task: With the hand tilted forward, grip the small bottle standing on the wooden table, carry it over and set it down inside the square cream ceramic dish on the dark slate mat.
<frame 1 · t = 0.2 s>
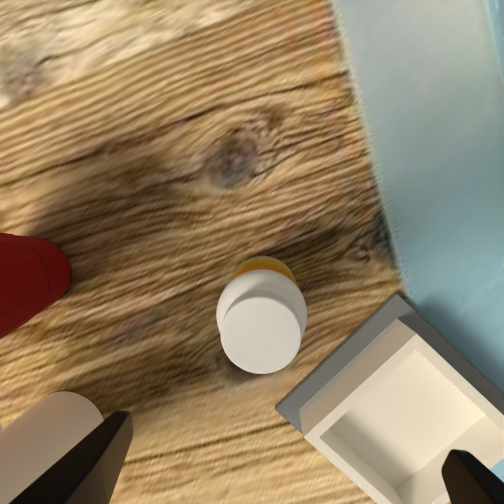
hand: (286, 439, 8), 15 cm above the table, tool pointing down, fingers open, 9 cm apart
cylindrical container: (69, 425, 26), on the table
plastic cup: (41, 268, 24), on the table
dish: (394, 409, 23), resting on mat
mat: (391, 405, 24), on the table
supplement bottle: (263, 286, 23), on the table
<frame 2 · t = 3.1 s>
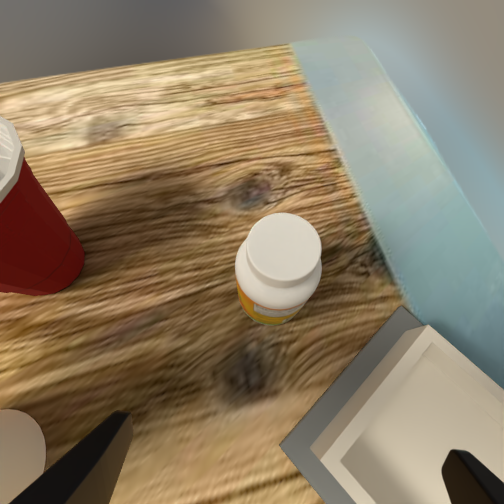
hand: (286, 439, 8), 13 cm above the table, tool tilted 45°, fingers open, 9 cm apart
plastic cup: (53, 262, 25), on the table
dish: (427, 452, 19), resting on mat
mat: (423, 450, 19), on the table
supplement bottle: (270, 294, 24), on the table
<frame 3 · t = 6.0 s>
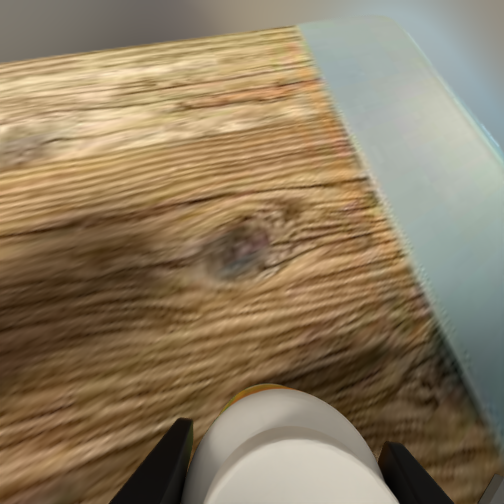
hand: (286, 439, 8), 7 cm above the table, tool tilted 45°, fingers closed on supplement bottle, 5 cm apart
supplement bottle: (267, 444, 14), on the table, touching gripper
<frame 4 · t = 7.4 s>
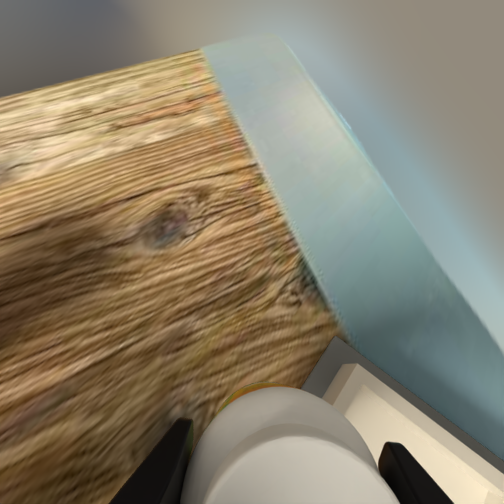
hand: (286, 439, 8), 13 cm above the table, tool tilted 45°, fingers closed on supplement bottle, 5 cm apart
mat: (371, 500, 17), on the table
supplement bottle: (265, 442, 14), point 6 cm above the table, touching gripper
when the fingers open (9 cm above the table, at t = 9.2 s): supplement bottle stays where it is, resting on dish.
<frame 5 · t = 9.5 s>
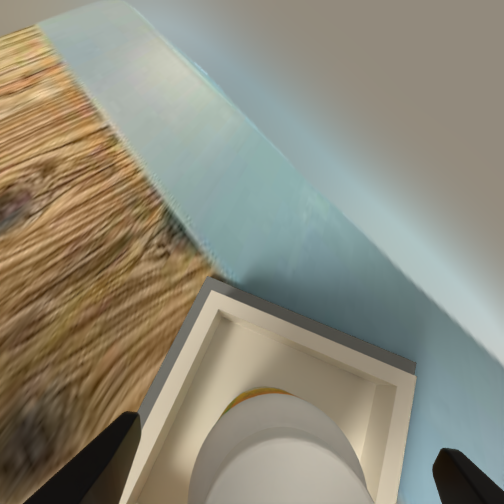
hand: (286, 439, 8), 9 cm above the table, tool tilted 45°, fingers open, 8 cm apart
dish: (265, 436, 15), resting on mat
mat: (264, 434, 16), on the table
supplement bottle: (265, 442, 15), point 1 cm above the table, touching dish
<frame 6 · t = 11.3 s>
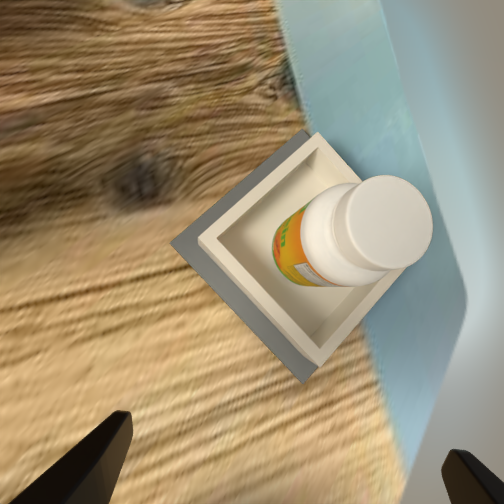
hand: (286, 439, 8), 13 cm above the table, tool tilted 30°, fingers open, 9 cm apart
dish: (302, 249, 21), resting on mat
mat: (300, 249, 22), on the table
supplement bottle: (303, 250, 21), point 1 cm above the table, touching dish
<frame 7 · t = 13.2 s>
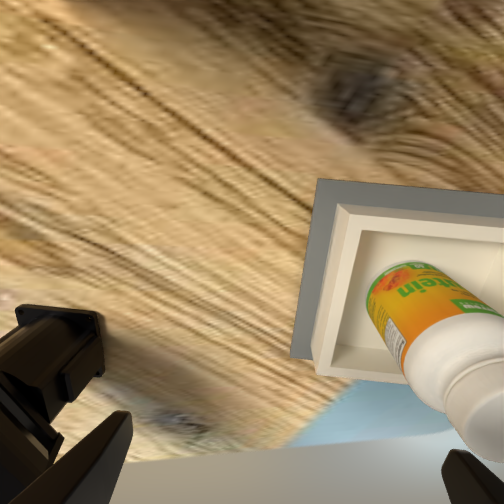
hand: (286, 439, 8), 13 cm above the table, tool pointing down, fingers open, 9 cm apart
dish: (402, 289, 20), resting on mat
mat: (399, 286, 20), on the table
supplement bottle: (401, 292, 19), point 1 cm above the table, touching dish
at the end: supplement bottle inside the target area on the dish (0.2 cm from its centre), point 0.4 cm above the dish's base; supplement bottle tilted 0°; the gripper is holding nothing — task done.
